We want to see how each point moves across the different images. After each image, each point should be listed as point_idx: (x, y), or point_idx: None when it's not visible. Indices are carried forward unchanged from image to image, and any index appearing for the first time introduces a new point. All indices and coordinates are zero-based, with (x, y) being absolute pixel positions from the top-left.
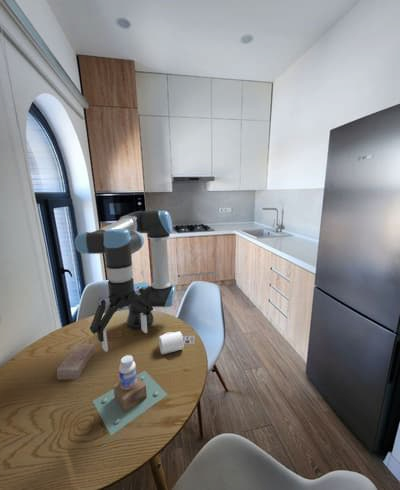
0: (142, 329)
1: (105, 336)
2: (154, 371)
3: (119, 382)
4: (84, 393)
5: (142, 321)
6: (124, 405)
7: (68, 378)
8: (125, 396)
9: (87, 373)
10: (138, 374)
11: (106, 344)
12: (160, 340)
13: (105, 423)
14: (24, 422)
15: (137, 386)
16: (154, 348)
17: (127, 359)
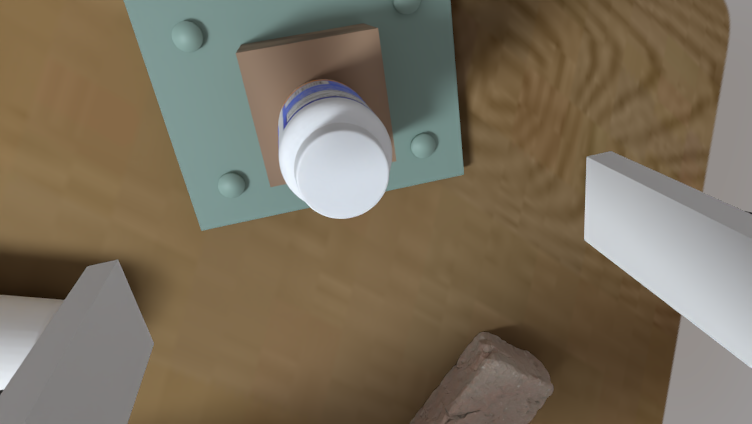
0: (140, 335)
1: (749, 227)
2: (150, 209)
3: None
4: (473, 241)
5: (94, 420)
6: (368, 25)
7: (507, 344)
8: (362, 43)
9: (440, 341)
10: (240, 220)
11: (651, 180)
12: None
13: (448, 21)
14: None
15: (284, 74)
16: None
17: (341, 168)
